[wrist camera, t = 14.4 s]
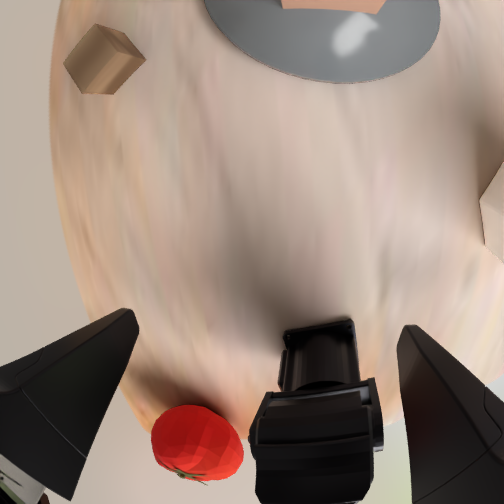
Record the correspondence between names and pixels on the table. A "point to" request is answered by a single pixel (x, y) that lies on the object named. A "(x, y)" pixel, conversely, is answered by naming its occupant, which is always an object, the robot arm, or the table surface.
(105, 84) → the block
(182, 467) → the tomato
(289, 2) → the tan rectangular block
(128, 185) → the table surface
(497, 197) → the jar
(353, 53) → the plate
